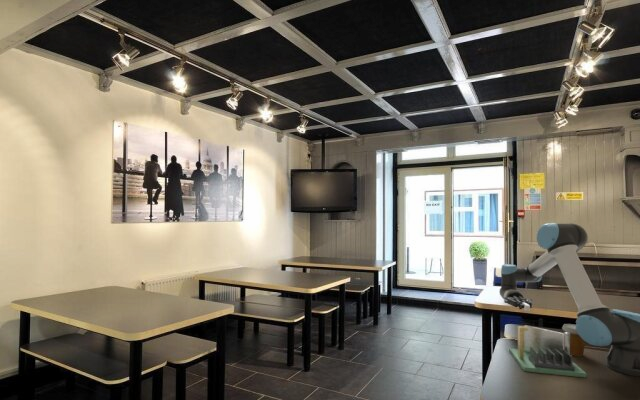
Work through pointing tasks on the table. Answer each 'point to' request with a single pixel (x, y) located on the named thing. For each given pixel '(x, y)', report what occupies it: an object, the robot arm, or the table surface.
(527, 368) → the motherboard
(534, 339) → the grey flat slab
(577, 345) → the disposable coffee cup
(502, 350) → the table surface
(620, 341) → the robot arm
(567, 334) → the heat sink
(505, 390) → the table surface
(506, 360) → the table surface
